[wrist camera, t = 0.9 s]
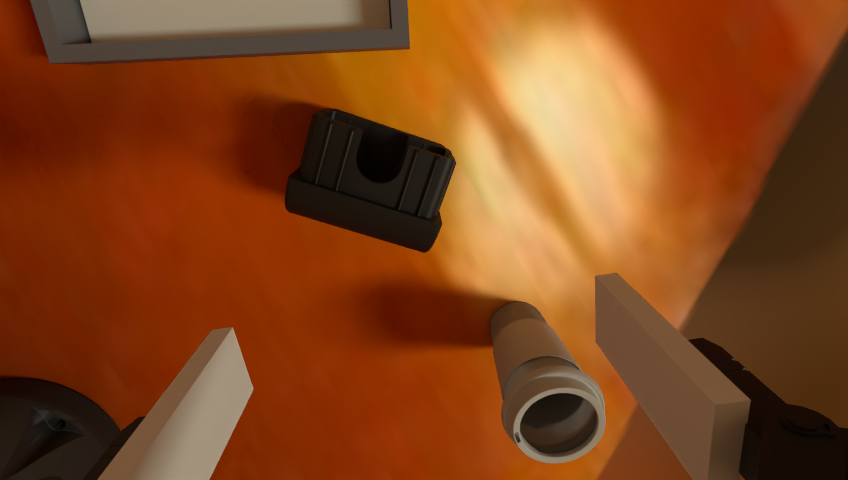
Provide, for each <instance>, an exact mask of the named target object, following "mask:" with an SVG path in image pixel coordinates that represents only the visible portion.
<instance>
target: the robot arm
mask: <svg viewBox="0 0 848 480" xmlns="http://www.w3.org/2000/svg"><path fill="white" fill-rule="evenodd" d="M595 309H596V343H597V344H598V346H599V347H600V348H601V350H602V351H603V353H604V354H605V356H606V357H607V358H608V360H609V361H610V363H611V364H612V365H613V367H614V368H615V370H616V371H617V373H618V374H619V375H620V377H621V378H622V380H623V381H624V383H625V384H626V385H627V387H628V388H629V390H630V391H631V392H632V394H633V395H634V397H635V398H636V400H637V401H638V402H639V404H640V405H641V407H642V408H643V410H644V411H645V412H646V414H647V415H648V417H649V418H650V419H651V421H652V422H653V424H654V425H655V426H656V428H657V429H658V431H659V432H660V434H661V435H662V436H663V438H664V439H665V441H666V442H667V444H668V445H669V446H670V448H671V449H672V451H673V452H674V454H675V455H676V456H677V458H678V459H679V460H680V462H681V464H682V465H683V466H684V468H685V469H686V471H687V472H688V474H689V475H690V476H691V478H692V479H693V480H739V479H740V474H741V475H742V477H743V478H744V479H745V480H848V428H840V427H838V426H837V425H836V424H835V423H834V422H832V421H831V420H830V419H829V418H827V417H825V416H824V415H822V414H820V413H818V412H816V411H814V410H811V409H808V408H805V407H802V406H796V405H790V404H786V403H785V402H784V401H783V400H782V399H780V398H779V397H778V396H777V395H776V394H775V393H774V392H772V391H771V390H770V389H769V388H768V387H766V385H764V384H763V383H762V382H761V381H760V380H759V379H757V378H756V377H755V376H754V375H753V374H752V373H751V372H750V371H746V368H745V367H744V366H742V365H741V364H740V363H739V362H738V361H735V358H733V357H732V356H731V355H730V354H729V353H728V352H727V351H725V350H724V349H723V348H722V347H720V346H718V345H716V344H714V343H712V342H710V341H708V340H706V339H704V338H698V339H691V340H687V339H686V338H685V337H684V336H683V335H682V334H681V333H680V332H678V331H677V330H676V329H675V328H674V327H673V326H672V325H671V324H670V323H669V322H668V321H667V320H666V319H665V318H664V317H663V316H662V315H661V314H660V313H658V312H657V311H656V310H655V309H654V308H653V307H652V306H651V305H650V304H649V303H648V302H647V301H646V300H645V299H644V298H643V297H642V296H641V295H640V294H638V293H637V292H636V291H635V290H634V289H633V288H632V287H631V286H630V285H629V284H628V283H627V282H626V281H625V280H624V279H623V278H622V277H621V276H620V275H618V274H617V273H612V274H605V275H598V276H595ZM252 391H253V386H252V383H251V380H250V377H249V374H248V371H247V368H246V365H245V362H244V359H243V356H242V353H241V350H240V347H239V344H238V341H237V338H236V335H235V333H234V330H233V327H231V328H224V329H217V330H212V331H211V332H210V333H209V335H208V336H207V337H206V338H205V340H204V341H203V342H202V344H201V345H200V346H199V348H198V349H197V350H196V352H195V353H194V354H193V355H192V357H191V358H190V359H189V361H188V362H187V363H186V365H185V366H184V367H183V369H182V370H181V371H180V372H179V374H178V375H177V376H176V378H175V379H174V380H173V382H172V383H171V384H170V386H169V387H168V388H167V389H166V391H165V392H164V393H163V395H162V396H161V397H160V399H159V400H158V401H157V403H156V404H155V405H154V406H153V408H152V409H151V410H150V412H149V413H148V414H147V416H144V417H138V418H137V419H136V420H134V421H133V422H132V423H131V424H130V425H128V426H127V427H126V428H125V429H123V430H122V431H121V432H120V430H119V429H118V427H117V426H116V424H115V423H114V422H113V420H112V419H111V418H110V417H109V416H108V415H107V414H106V413H105V412H104V411H103V410H102V409H101V408H100V407H98V406H97V405H96V404H94V403H93V402H92V401H90V400H89V399H87V398H85V397H84V396H82V395H80V394H78V393H76V392H74V391H72V390H70V389H67V388H65V387H62V386H59V385H56V384H53V383H49V382H44V381H39V380H31V379H9V380H2V381H0V480H209V479H210V477H211V475H212V473H213V471H214V469H215V467H216V465H217V463H218V461H219V459H220V457H221V455H222V453H223V450H224V448H225V446H226V444H227V442H228V440H229V438H230V436H231V434H232V432H233V430H234V428H235V426H236V424H237V422H238V420H239V418H240V416H241V414H242V412H243V410H244V408H245V406H246V404H247V401H248V399H249V397H250V395H251V393H252Z"/></svg>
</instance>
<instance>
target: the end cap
mask: <svg viewBox="0 0 848 480" xmlns="http://www.w3.org/2000/svg"><path fill="white" fill-rule="evenodd" d="M455 165H456V161H455V159H454V157H453V156H452V153H451V151H450V150H449V149H447V148H445V147H444V146H443V145H441V144H439V143H436V142H433V141H430V140H427V139H424V138H421V137H418V136H415V135H412V134H409V133H406V132H403V131H400V130H397V129H394V128H391V127H388V126H385V125H382V124H379V123H376V122H373V121H370V120H368V119H365V118H362V117H359V116H356V115H353V114H350V113H347V112H344V111H341V110H338V109H333V110H331V109H324V110H322V111H320V112H316V113H315V114H313V115H312V119H311V124H310V128H309V132H308V136H307V140H306V144H305V148H304V152H303V156H302V160H301V165H300V167H299V168H298V169H297V170H295V171H294V172H293V173H292V174H291V175H290V176H289V177H288V182H287V187H286V193H285V207H286V209H287V211H288V212H290V213H294V214H297V215H300V216H304V217H307V218H310V219H314V220H317V221H320V222H324V223H327V224H330V225H334V226H337V227H340V228H343V229H347V230H350V231H353V232H357V233H360V234H363V235H367V236H370V237H373V238H377V239H380V240H383V241H387V242H390V243H393V244H397V245H400V246H403V247H407V248H410V249H413V250H417V251H420V252H424V253H425V252H427V251H429V250H430V248H431V247H432V246H433V244H434V242H435V240H436V238H437V236H438V233H439V231H440V229H441V226H442V221H441V216H440V212H439V209H440V206H441V204H442V201H443V198H444V195H445V193H446V190H447V187H448V184H449V181H450V179H451V176H452V173H453V170H454V168H455Z"/></svg>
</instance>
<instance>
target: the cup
mask: <svg viewBox="0 0 848 480" xmlns="http://www.w3.org/2000/svg"><path fill="white" fill-rule="evenodd" d="M490 332H491V337H492V342H493V354H494V359H495V364H496V369H497V374H498V379H499V383H500V388H501V393H502V398H503V404H502V410H501V418H502V423H503V426H504V429H505V431H506V433H507V434H508V436H509V437H510V438H511V440H512V441H513V442H514V443H515V444H516V445H517V446H518V447H519V449H520V450H521V451H522V452H523V453H524V454H526V455H527V456H529V457H530V458H532V459H534V460H537V461H540V462H544V463H563V462H569V461H572V460H574V459H577V458H579V457H581V456H583V455H585V454H586V453H587V452H589V451H590V450H592V448H593V447H594V446H595V445H596V444H597V443H598V442H599V440H600V439H601V437H602V435H603V432H604V430H605V423H606V418H605V404H604V398H603V394H602V392H601V389H600V388H599V386H598V384H597V383H596V382H595V381H594V380H593V379H592V378H591V377H590V376H589V375H587V374H586V373H584V372H583V371H582V370H581V369H580V367H579V366H578V364H577V363H576V362H575V360H574V359H573V357H572V356H571V354H570V353H569V351H568V350H567V349H566V347H565V346H564V344H563V343H562V341H561V340H560V338H559V337H558V336H557V334H556V333H555V331H554V330H553V329H552V328H551V327H550V326H549V325H548V324H547V323H546V321H545V320H544V318H543V317H542V315H541V314H540V312H539V311H538V310H537V309H536V308H535V307H534V306H532V305H531V304H528V303H525V302H513V303H509V304H506V305H504V306H502V307H501V308H500V309H498V310H497V311H496V312H495V314H494V315H493V317H492V319H491V322H490Z"/></svg>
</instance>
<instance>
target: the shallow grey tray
mask: <svg viewBox="0 0 848 480" xmlns="http://www.w3.org/2000/svg"><path fill="white" fill-rule="evenodd" d="M30 2H31V5H32V8H33V11H34V14H35V17H36V21H37V24H38V27H39V30H40V33H41V37H42V40H43V43H44V46H45V49H46V53H47V56H48V59H49V62H50V63H53V64H87V65H90V64H111V63H132V62H153V61H174V60H194V59H215V58H236V57H257V56H278V55H298V54H319V53H340V52H361V51H381V50H402V49H410V45H409V26H408V6H407V0H30Z"/></svg>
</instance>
